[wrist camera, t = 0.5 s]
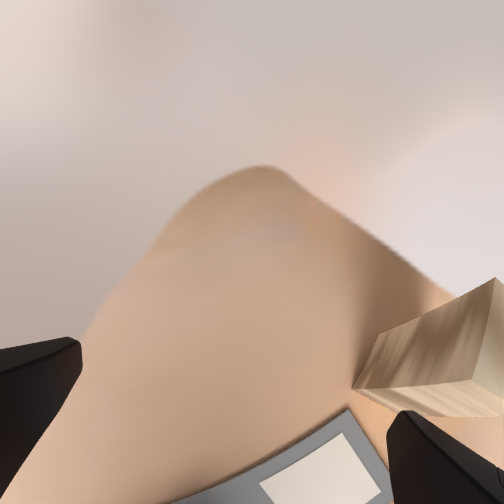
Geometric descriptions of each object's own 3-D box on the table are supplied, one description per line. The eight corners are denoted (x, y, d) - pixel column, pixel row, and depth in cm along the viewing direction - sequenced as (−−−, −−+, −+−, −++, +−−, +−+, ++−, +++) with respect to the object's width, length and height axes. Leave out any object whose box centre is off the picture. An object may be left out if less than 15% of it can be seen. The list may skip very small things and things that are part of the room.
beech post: (398, 414, 19) (525, 414, 8) (351, 389, 20) (471, 379, 8) (422, 360, 21) (543, 323, 10) (379, 334, 22) (495, 277, 10)
